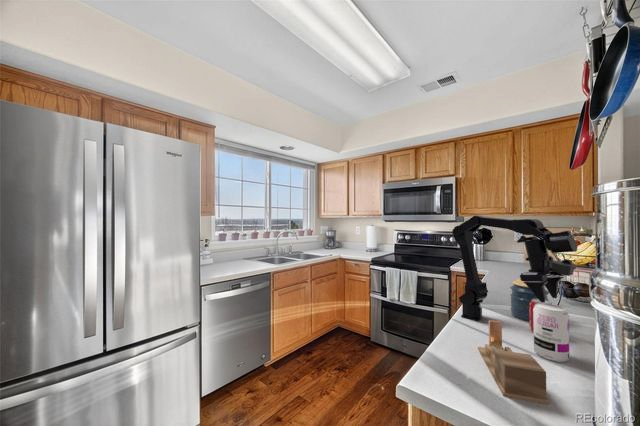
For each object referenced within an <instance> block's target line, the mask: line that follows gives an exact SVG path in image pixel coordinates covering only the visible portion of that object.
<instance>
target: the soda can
mask: <svg viewBox="0 0 640 426" xmlns="http://www.w3.org/2000/svg"><path fill="white" fill-rule="evenodd" d="M538 303H543V302H540V300H539V299H532V301H531V303H530V307H529V316H530V321H529V329H530V331H531V332H533V333H534V330H533V309H534V307H535V306H536V304H538ZM544 304H552V305H553V302H552V301H550V300H549V301H548V300H545V302H544Z"/></svg>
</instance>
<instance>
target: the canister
mask: <svg viewBox="0 0 640 426" xmlns="http://www.w3.org/2000/svg"><path fill="white" fill-rule="evenodd" d="M511 282H512V284H513V285H511V286H510V287H509V288H510V290H511V293H510V314H511V316H513V317H514V318H517V319H519V320H522V321H527V322H530V316H529V307H530V303H531V301H532V299H538V298H537V297H536V295H535V294H534V293H533V292H532V291H531V289H530V288H529V287H528V286H527V285H526V284H525V283H524V282H525V281H521V279H520V278H518V279H516V280H514V281H511ZM544 291H545V300H548V301H550V300H549V298H548V297H549V296H548V295H549V294H550V293H549V292H548V290H547V288H546V287H545V286H544Z"/></svg>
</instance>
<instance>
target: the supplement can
mask: <svg viewBox="0 0 640 426" xmlns="http://www.w3.org/2000/svg"><path fill="white" fill-rule="evenodd" d="M569 317H570V315H569V313H568V311H567V310H566V308H565V307H562V306H560V305H555V304H553V303H552V304H544V303H538V304H536V306H535V307H534V309H533V330H534V332H533V351H534V352H535V353H536V354H537V355H538V356H540V357H541V358H543V359H546V360H548V361H552V362H557V363H565V362H567V361H569V360H570V320H569V319H570V318H569Z"/></svg>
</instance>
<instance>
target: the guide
mask: <svg viewBox="0 0 640 426" xmlns="http://www.w3.org/2000/svg"><path fill="white" fill-rule="evenodd" d="M504 349H505V351H501V350H494V351H493V349H492V348H491V346H490V345H489V344H484V347H482V346H477V350H478V352H479V354H480V355H481V358H482V359H483V362H484V364H485V365H486V367H487V368H488V370H489V372H490V374H491V376H492V378H493V380H494V381H495V383H496V385H497V387H498V389H499V391H500V393H501V394H502V396H503V397H509V398H513V399H514V398H515V399H520V400H524V401H530V402H534V403H540V404H541V403H542V404H545V405H550V400H549V399H548V397H547V371H546V370H545V369H544V368H543V367H542V365H540V363H539V362H538V361H536V359H535V358H534V357H533V356H532V355H531V354H528V353H521V352H515V351H513V350H512V349H511V348H510V347H508V346H505V347H504Z"/></svg>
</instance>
